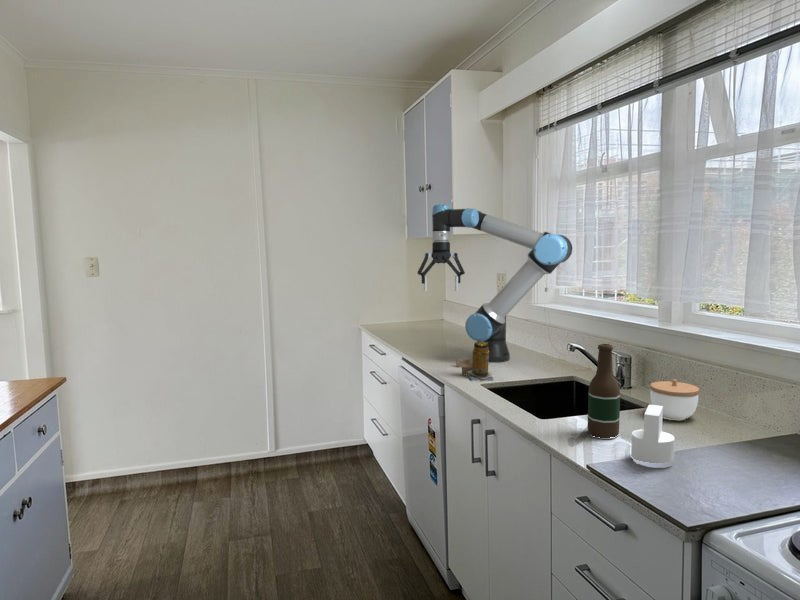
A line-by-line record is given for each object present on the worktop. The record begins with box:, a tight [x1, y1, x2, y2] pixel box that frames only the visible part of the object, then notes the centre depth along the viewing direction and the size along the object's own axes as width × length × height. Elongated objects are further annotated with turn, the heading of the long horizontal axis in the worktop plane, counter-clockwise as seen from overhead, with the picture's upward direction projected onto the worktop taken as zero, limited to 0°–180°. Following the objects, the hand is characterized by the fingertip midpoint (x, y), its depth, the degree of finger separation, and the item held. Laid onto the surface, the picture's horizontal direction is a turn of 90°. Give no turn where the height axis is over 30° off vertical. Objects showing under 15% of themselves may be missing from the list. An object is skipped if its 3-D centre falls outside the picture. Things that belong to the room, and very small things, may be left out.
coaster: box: [467, 374, 494, 381], centre depth 209 cm, size 8×8×1 cm
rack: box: [456, 358, 473, 376], centre depth 222 cm, size 10×15×3 cm, turn 3°
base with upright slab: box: [630, 404, 676, 463], centre depth 127 cm, size 9×9×12 cm
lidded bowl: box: [649, 378, 700, 419], centre depth 159 cm, size 13×13×11 cm
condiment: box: [467, 341, 497, 379], centre depth 207 cm, size 7×8×12 cm
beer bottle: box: [587, 343, 621, 438], centre depth 144 cm, size 8×8×24 cm
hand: (441, 291), depth 239 cm, fingers open, 13 cm apart
